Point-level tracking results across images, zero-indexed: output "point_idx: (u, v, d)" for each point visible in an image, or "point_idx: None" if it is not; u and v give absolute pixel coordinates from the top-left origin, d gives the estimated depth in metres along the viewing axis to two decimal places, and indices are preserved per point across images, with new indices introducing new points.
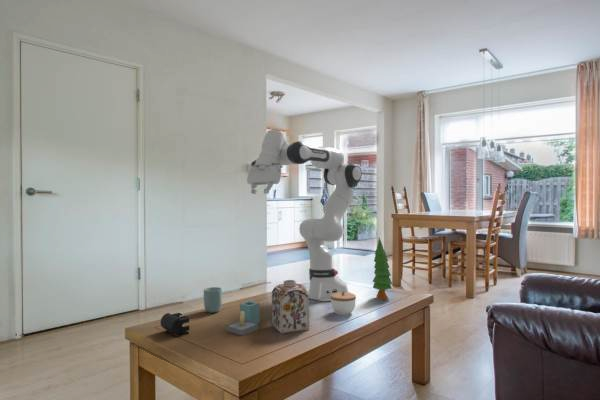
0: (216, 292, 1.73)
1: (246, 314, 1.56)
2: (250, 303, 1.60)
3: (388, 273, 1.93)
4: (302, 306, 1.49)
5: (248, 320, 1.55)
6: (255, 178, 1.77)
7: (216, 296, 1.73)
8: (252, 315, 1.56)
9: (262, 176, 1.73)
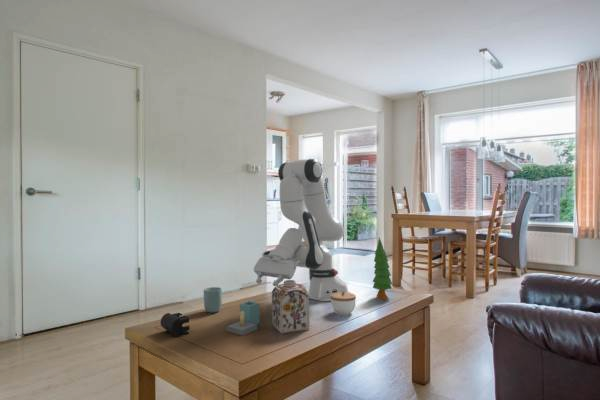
0: (216, 292, 1.73)
1: (246, 314, 1.56)
2: (250, 303, 1.60)
3: (388, 273, 1.93)
4: (302, 306, 1.49)
5: (248, 320, 1.55)
6: (265, 267, 1.71)
7: (216, 296, 1.73)
8: (252, 315, 1.56)
9: (274, 268, 1.68)
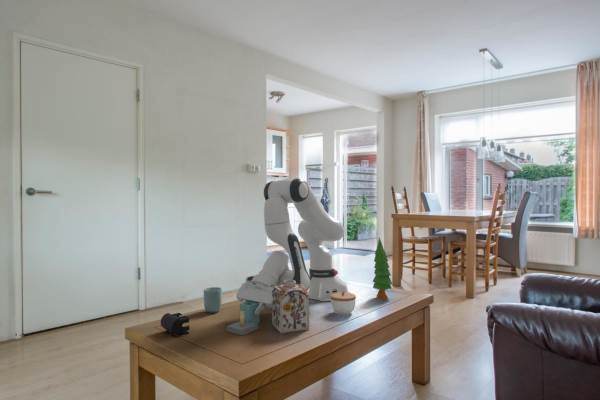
0: (216, 292, 1.73)
1: (246, 314, 1.56)
2: (250, 303, 1.60)
3: (388, 273, 1.93)
4: (302, 306, 1.49)
5: (248, 320, 1.55)
6: (248, 294, 1.63)
7: (216, 296, 1.73)
8: (252, 315, 1.56)
9: (257, 296, 1.60)
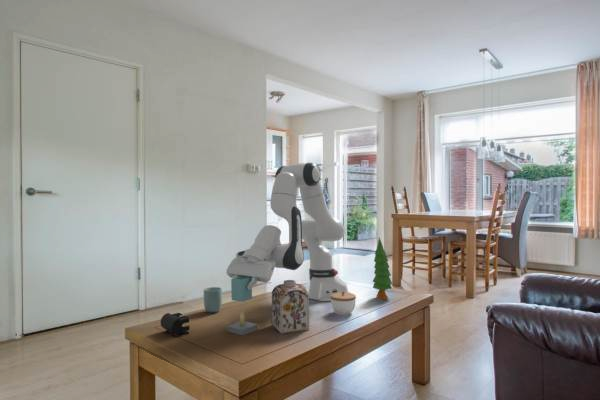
0: (216, 292, 1.73)
1: (238, 289, 1.48)
2: (242, 278, 1.52)
3: (388, 273, 1.93)
4: (302, 306, 1.49)
5: (240, 295, 1.47)
6: (239, 269, 1.55)
7: (216, 296, 1.73)
8: (244, 290, 1.48)
9: (249, 270, 1.52)
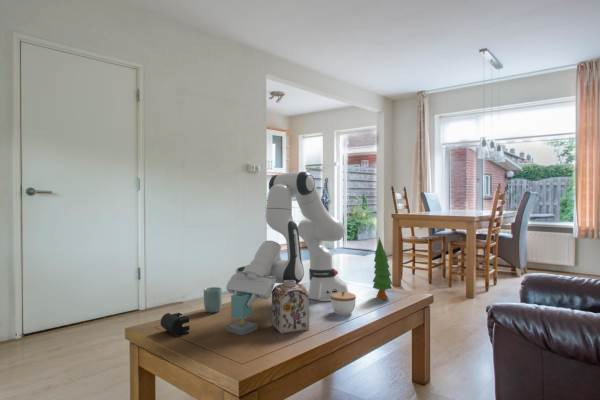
0: (216, 292, 1.73)
1: (238, 306, 1.47)
2: (242, 295, 1.52)
3: (388, 273, 1.93)
4: (302, 306, 1.49)
5: (240, 312, 1.47)
6: (239, 286, 1.54)
7: (216, 296, 1.73)
8: (244, 307, 1.47)
9: (249, 286, 1.52)
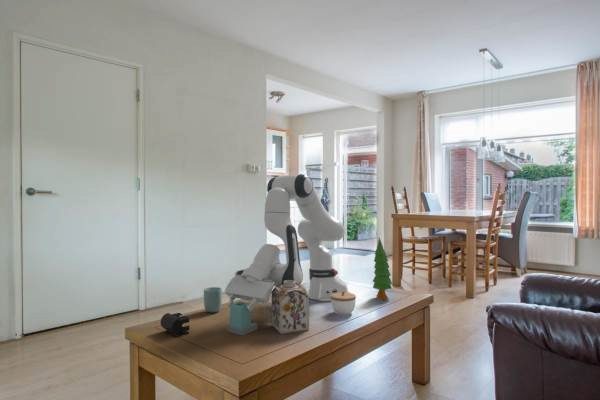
0: (216, 292, 1.73)
1: (237, 315, 1.48)
2: (241, 304, 1.52)
3: (388, 273, 1.93)
4: (302, 306, 1.48)
5: (239, 321, 1.47)
6: (238, 289, 1.55)
7: (216, 296, 1.73)
8: (243, 316, 1.48)
9: (248, 290, 1.52)
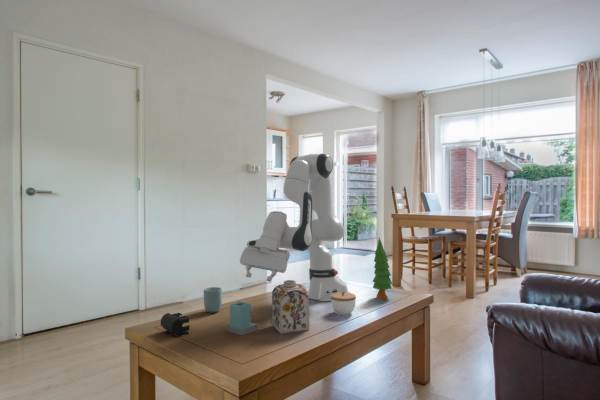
0: (216, 292, 1.73)
1: (237, 315, 1.48)
2: (241, 304, 1.52)
3: (388, 273, 1.93)
4: (302, 306, 1.48)
5: (239, 321, 1.47)
6: (253, 260, 1.62)
7: (216, 296, 1.73)
8: (243, 316, 1.48)
9: (265, 262, 1.60)
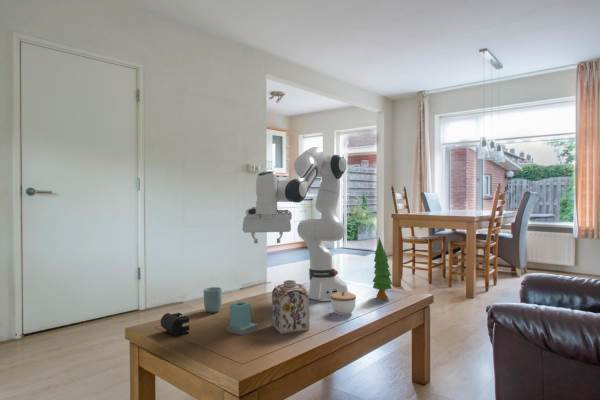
0: (216, 292, 1.73)
1: (237, 315, 1.48)
2: (241, 304, 1.52)
3: (388, 273, 1.93)
4: (302, 306, 1.48)
5: (239, 321, 1.47)
6: (258, 227, 1.65)
7: (216, 296, 1.73)
8: (243, 316, 1.48)
9: (270, 226, 1.65)
